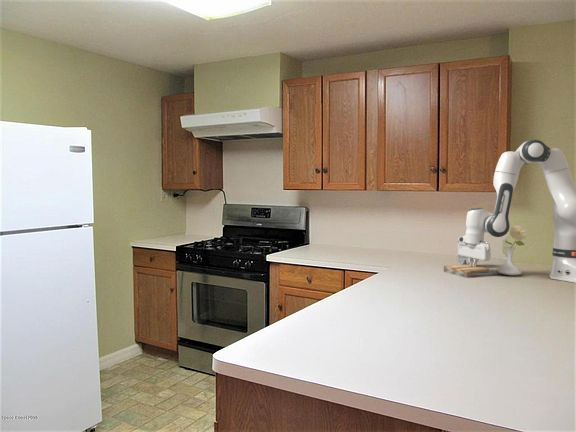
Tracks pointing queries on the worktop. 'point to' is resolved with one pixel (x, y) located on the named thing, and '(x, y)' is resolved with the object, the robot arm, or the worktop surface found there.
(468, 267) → the light wood flat slab
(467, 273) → the underlay panel
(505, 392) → the worktop surface
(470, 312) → the worktop surface
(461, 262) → the coffee box
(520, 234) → the flower in vase
